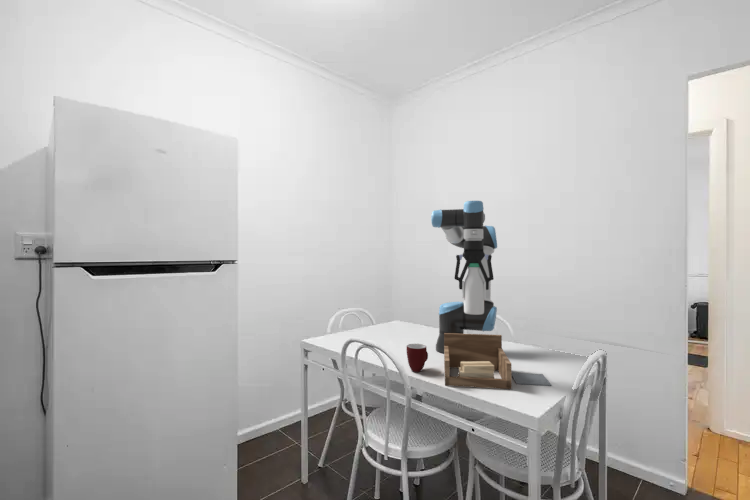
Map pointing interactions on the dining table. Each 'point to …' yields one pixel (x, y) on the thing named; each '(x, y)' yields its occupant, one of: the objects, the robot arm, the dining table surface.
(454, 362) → the rack
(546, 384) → the mat
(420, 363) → the mug
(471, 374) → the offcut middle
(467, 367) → the offcut top
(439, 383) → the dining table surface
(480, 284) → the milk bottle
